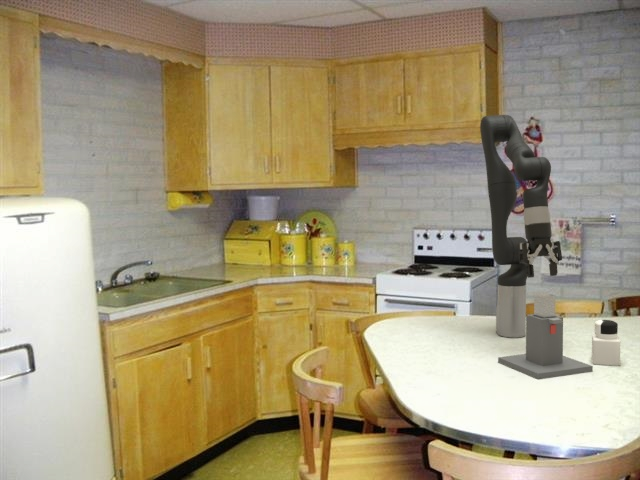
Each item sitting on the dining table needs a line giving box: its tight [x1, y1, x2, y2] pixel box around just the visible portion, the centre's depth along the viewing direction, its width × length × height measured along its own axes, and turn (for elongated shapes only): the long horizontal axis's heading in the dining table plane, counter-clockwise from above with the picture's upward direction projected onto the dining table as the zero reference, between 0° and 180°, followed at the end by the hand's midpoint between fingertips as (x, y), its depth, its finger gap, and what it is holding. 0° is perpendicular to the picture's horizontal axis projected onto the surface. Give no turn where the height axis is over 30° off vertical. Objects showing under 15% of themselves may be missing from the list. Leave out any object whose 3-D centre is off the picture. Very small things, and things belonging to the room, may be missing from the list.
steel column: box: [533, 293, 556, 319], centre depth 190 cm, size 4×4×18 cm
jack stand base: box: [497, 313, 593, 380], centre depth 191 cm, size 18×18×14 cm
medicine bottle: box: [591, 319, 621, 367], centre depth 195 cm, size 7×7×12 cm
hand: (542, 276), depth 203 cm, fingers open, 8 cm apart
